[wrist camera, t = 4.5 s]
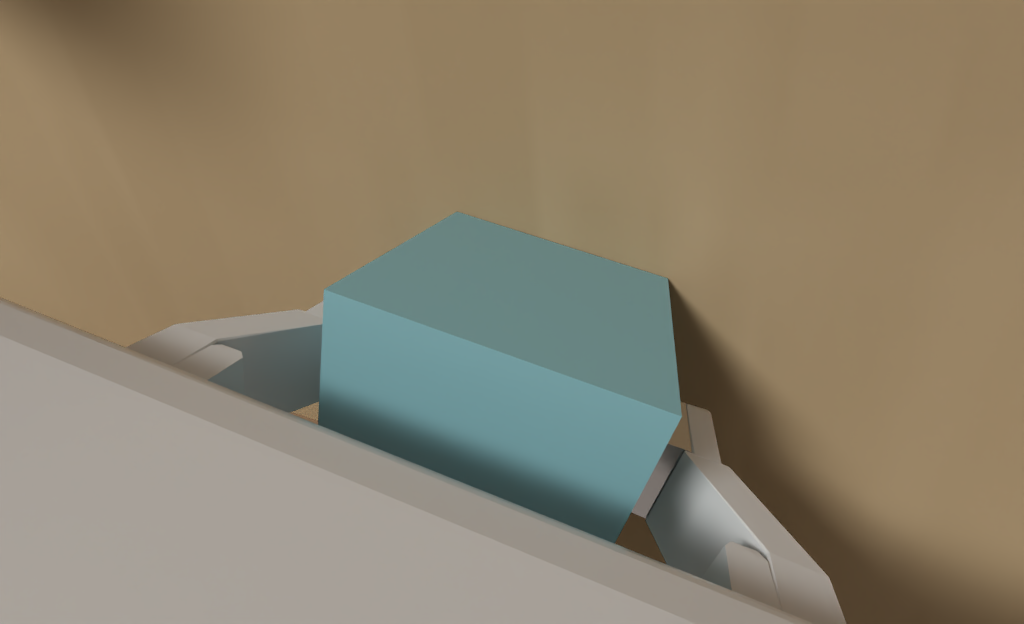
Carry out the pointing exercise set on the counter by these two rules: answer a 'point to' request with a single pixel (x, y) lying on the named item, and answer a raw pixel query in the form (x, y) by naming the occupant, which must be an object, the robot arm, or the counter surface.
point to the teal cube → (507, 368)
